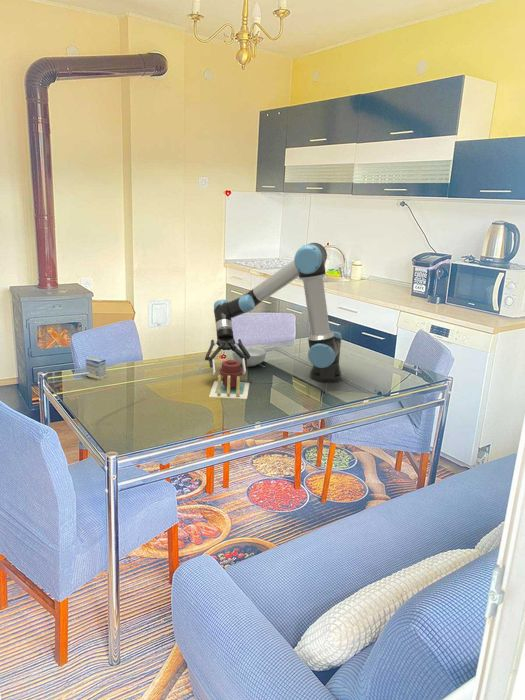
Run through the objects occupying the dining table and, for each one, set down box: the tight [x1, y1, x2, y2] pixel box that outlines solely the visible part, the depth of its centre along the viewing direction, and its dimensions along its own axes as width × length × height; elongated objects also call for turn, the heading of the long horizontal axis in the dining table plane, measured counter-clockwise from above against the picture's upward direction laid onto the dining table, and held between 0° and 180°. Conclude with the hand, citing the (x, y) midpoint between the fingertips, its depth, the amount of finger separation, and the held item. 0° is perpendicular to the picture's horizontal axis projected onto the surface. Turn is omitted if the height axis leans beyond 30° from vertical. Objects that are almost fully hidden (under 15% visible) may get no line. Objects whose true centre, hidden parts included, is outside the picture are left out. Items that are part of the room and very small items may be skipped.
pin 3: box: [236, 376, 241, 397], centre depth 215 cm, size 1×1×9 cm
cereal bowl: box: [231, 346, 267, 367], centre depth 260 cm, size 17×17×7 cm
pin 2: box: [227, 375, 231, 397], centre depth 215 cm, size 1×1×9 cm
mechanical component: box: [219, 359, 243, 390], centre depth 224 cm, size 12×10×10 cm
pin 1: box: [217, 374, 222, 396], centre depth 216 cm, size 1×1×9 cm
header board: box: [208, 380, 250, 400], centre depth 224 cm, size 16×19×1 cm
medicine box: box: [85, 356, 107, 377], centre depth 233 cm, size 8×4×9 cm, turn 68°
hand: (229, 373), depth 226 cm, fingers open, 13 cm apart
